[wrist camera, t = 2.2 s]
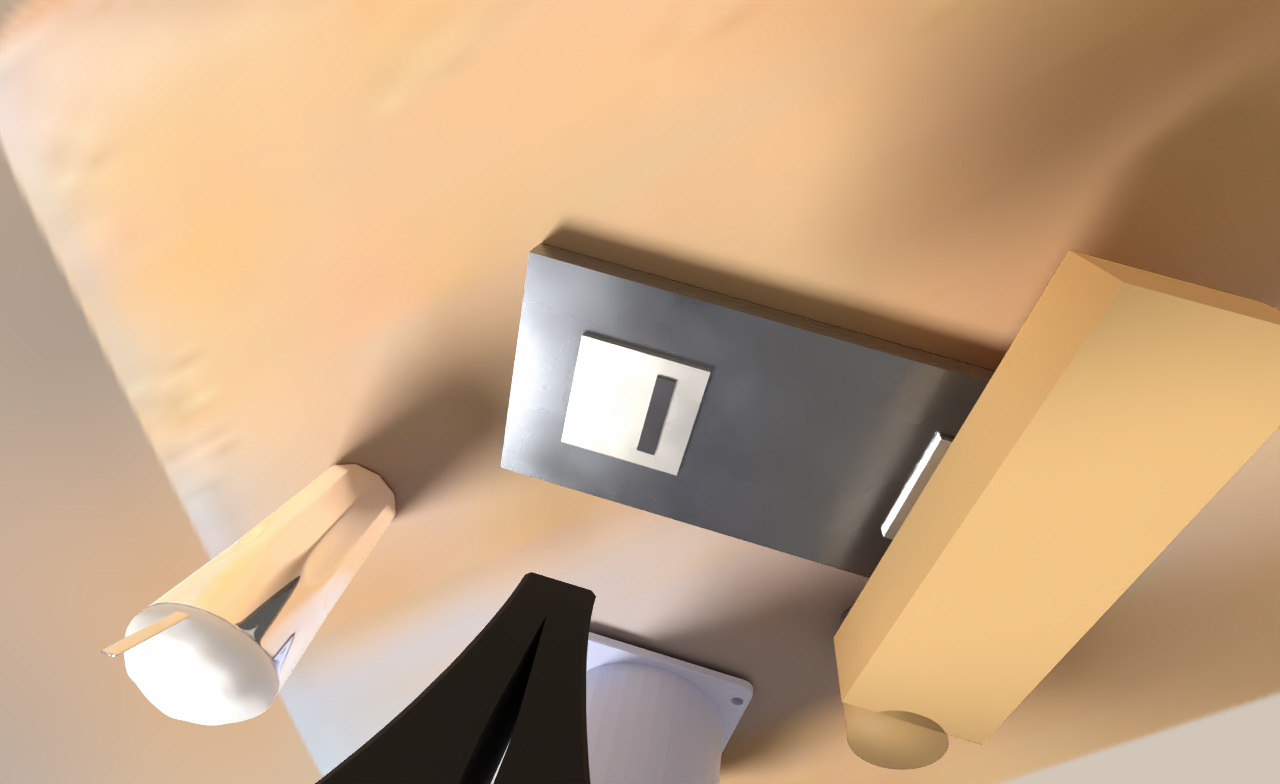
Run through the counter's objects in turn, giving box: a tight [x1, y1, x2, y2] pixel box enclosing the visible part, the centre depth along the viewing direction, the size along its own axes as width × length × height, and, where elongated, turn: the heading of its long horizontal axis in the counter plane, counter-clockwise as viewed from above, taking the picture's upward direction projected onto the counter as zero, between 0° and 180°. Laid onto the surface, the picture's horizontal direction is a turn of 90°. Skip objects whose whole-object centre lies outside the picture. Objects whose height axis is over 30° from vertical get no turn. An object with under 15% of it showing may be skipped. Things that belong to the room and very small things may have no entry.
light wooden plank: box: [834, 250, 1280, 770], centre depth 17 cm, size 16×4×2 cm, turn 167°
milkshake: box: [101, 464, 396, 725], centre depth 20 cm, size 4×5×10 cm
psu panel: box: [500, 243, 995, 578], centre depth 19 cm, size 8×20×1 cm, turn 77°
